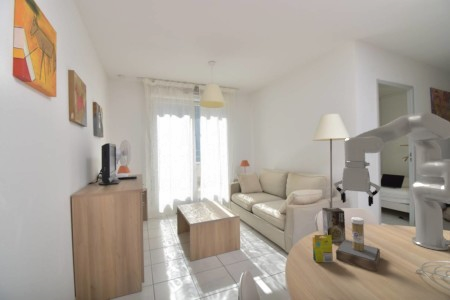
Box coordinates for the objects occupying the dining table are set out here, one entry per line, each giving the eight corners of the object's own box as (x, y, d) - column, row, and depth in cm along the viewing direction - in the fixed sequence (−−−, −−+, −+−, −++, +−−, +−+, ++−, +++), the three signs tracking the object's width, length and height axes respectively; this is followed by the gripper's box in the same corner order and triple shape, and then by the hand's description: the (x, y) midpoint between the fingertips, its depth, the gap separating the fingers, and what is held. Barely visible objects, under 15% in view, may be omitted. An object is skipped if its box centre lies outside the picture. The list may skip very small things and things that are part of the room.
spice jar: (351, 249, 86) (350, 218, 86) (353, 245, 90) (352, 216, 90) (364, 252, 83) (363, 220, 83) (365, 248, 87) (364, 217, 87)
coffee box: (340, 236, 108) (339, 207, 108) (346, 242, 102) (345, 210, 102) (322, 236, 109) (321, 207, 109) (327, 241, 103) (326, 210, 103)
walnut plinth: (380, 257, 87) (379, 248, 87) (376, 271, 76) (376, 261, 76) (343, 247, 96) (343, 239, 96) (336, 259, 86) (336, 250, 86)
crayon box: (330, 259, 86) (329, 232, 86) (333, 262, 83) (332, 235, 83) (312, 258, 87) (312, 232, 87) (315, 262, 84) (314, 235, 84)
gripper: (380, 165, 84) (382, 205, 84) (335, 164, 96) (336, 199, 95) (378, 166, 78) (380, 209, 78) (331, 165, 90) (332, 202, 90)
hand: (356, 203), depth 87 cm, fingers open, 9 cm apart
